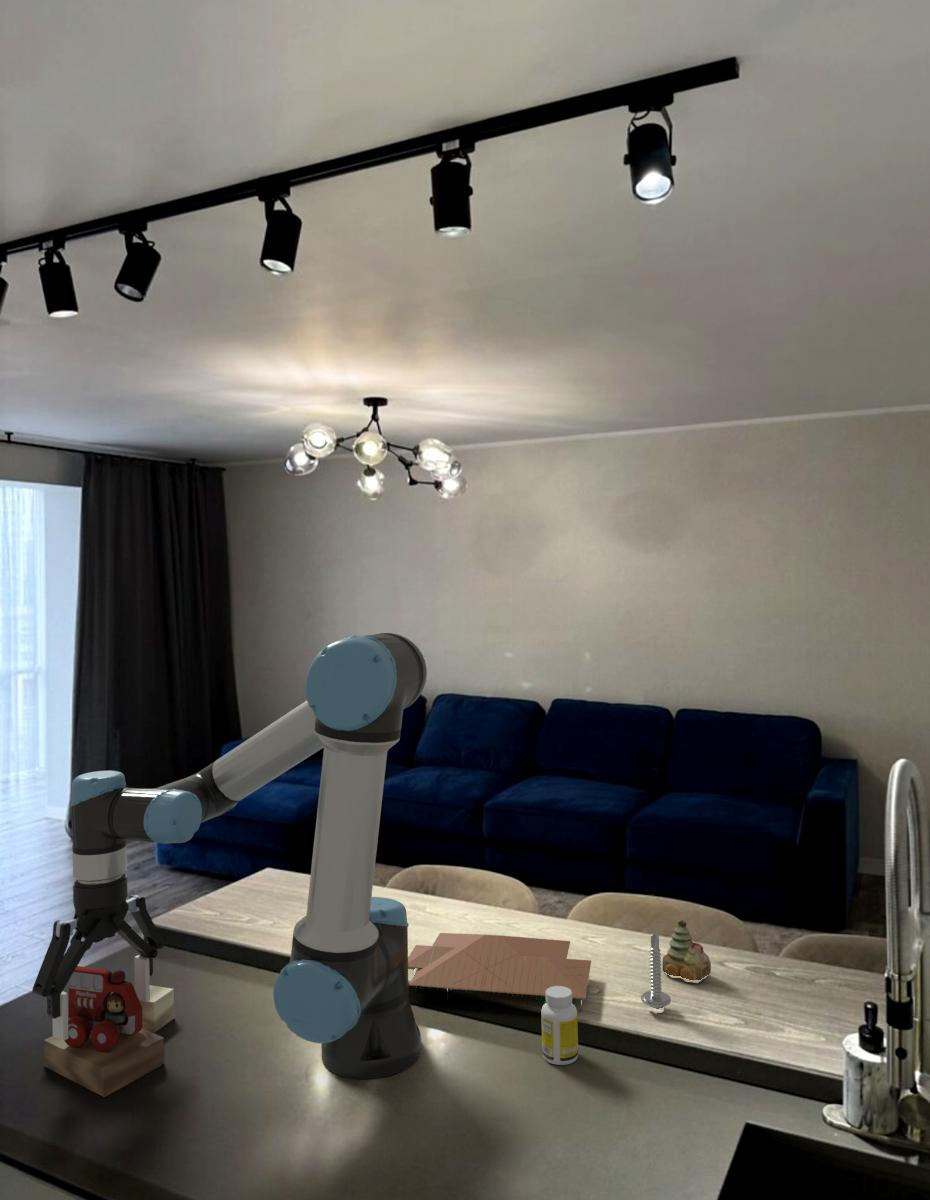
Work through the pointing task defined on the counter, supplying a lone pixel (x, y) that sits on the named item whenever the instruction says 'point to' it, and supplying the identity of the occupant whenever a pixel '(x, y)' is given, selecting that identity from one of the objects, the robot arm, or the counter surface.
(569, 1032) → the supplement bottle
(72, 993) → the toy fire truck
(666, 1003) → the screw
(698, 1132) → the counter surface
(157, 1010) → the birch block
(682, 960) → the ornament
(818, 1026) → the counter surface
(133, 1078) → the plinth
